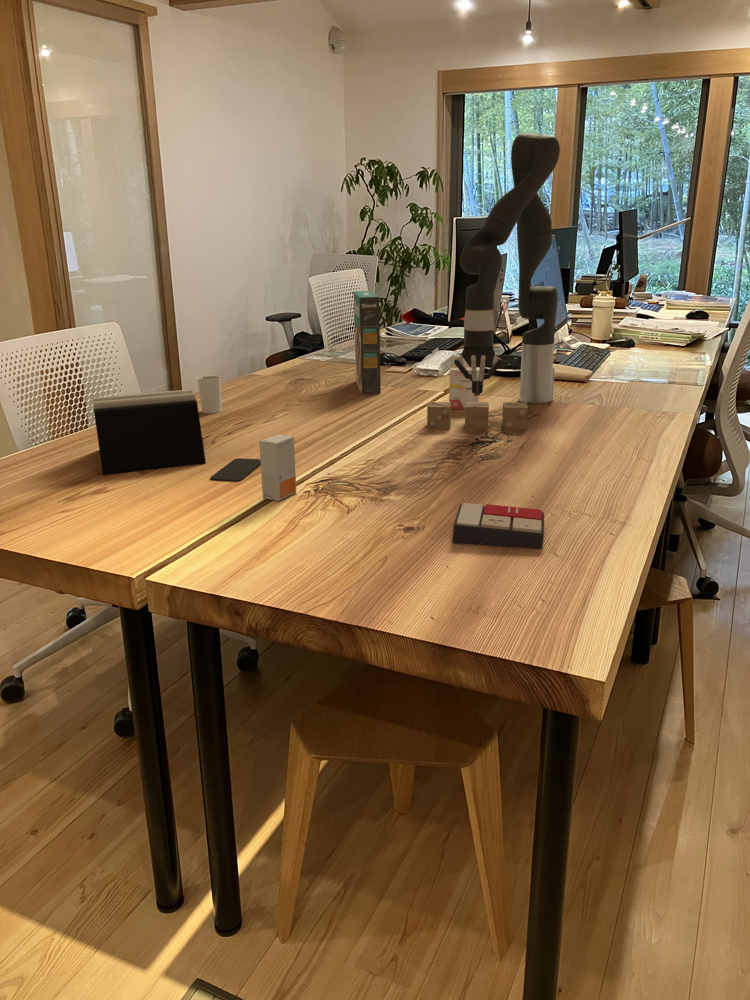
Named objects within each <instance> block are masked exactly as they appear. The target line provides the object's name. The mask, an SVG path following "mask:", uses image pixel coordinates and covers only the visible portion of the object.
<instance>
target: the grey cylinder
mask: <svg viewBox="0 0 750 1000" xmlns="http://www.w3.org/2000/svg"><path fill="white" fill-rule="evenodd" d="M221 381H222V380H221V375H209V374H208V375H202V376H197V385H198V391H199V392H198V393H199V399H200V406H201V407H200V408H201V413H202V414H209V415H210V414H218V413H221V412H223V407H222V384H221V383H222V382H221Z"/></svg>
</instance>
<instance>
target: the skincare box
mask: <svg viewBox="0 0 750 1000" xmlns="http://www.w3.org/2000/svg"><path fill="white" fill-rule="evenodd" d="M295 452H296V451H295V437H294V436H293V435H287V434H286V435H285V434H279V433H278V434H276V435H272V436H269V437H267V438H265V439H261V440H259V457H260V460H261V466H260V472H261V473H260V474H261V492H262V494H261V495H262V499H266V500H271V501H276V502H280V501H283V500H284V499H287V498H288V497H290V496H293V495H295V494H297V481H296V480H297V477H296V475H297V474H296V473H297V472H296V456H295V455H296V453H295Z"/></svg>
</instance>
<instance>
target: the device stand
mask: <svg viewBox="0 0 750 1000" xmlns="http://www.w3.org/2000/svg"><path fill="white" fill-rule="evenodd" d="M92 405H93V406H92V407H93V412H94V421H95V429H96V435H97V443H98V449H99V455H100V456H99V457H100V465H101V471H102V472H101V473H102V476H107V475H116V474H118V475H119V474H126V473H132V472H133V473H134V472H135V473H136V472H142V471H152V470H161V469H169V468H175V467H176V468H178V467H184V466H185V467H186V466H195V465H203V464H204V465H205V464H206V455H205V454H206V453H205V448H204V442H203V435H202V434H203V432H202V427H201V421H200V414H199V407H198V401H197V399H196V394H195V393H194V392H193V389H182V390H181V389H180V390H179V389H178V390H170V391H158V392H144V393H136V394H135V393H134V394H121V395H110V396H100V397H98V396H97V397H92Z"/></svg>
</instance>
